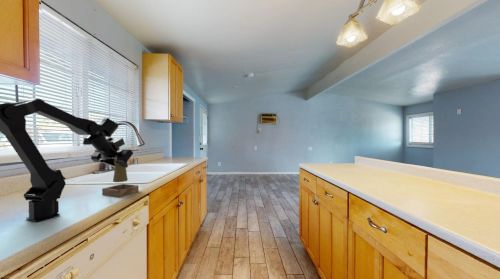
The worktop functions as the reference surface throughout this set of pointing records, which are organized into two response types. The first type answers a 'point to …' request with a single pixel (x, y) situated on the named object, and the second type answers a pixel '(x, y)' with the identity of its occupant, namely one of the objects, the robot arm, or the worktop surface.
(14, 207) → the worktop surface
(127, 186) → the slot holder
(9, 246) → the worktop surface
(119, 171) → the cork
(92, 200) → the worktop surface
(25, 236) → the worktop surface
